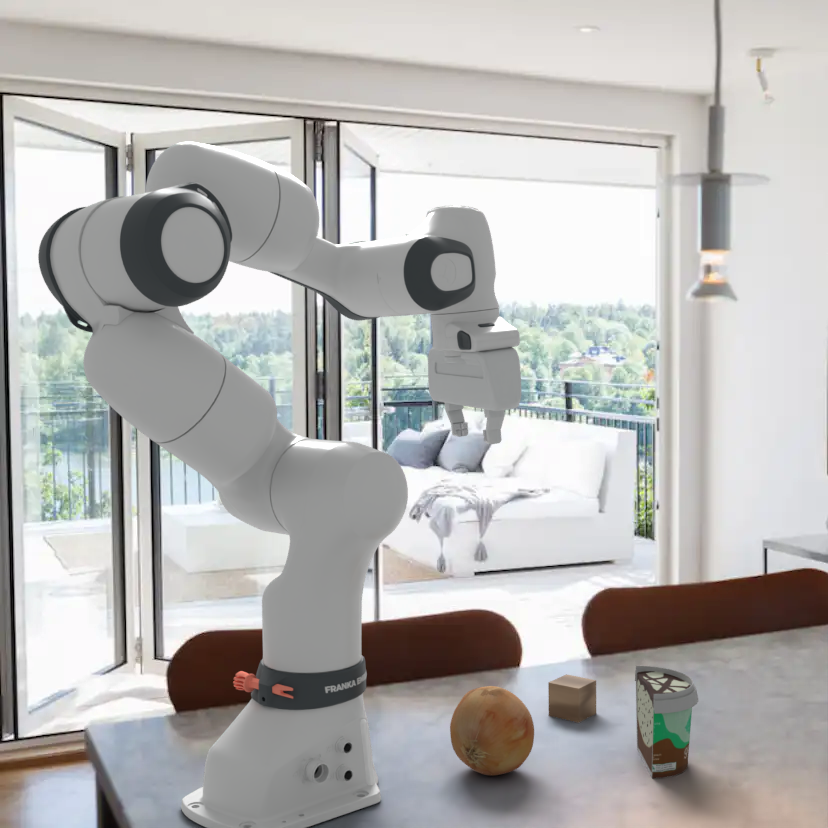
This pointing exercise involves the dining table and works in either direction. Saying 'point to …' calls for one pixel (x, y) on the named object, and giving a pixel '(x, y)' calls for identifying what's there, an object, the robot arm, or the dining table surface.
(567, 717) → the walnut block
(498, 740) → the onion
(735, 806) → the dining table surface
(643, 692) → the food container
